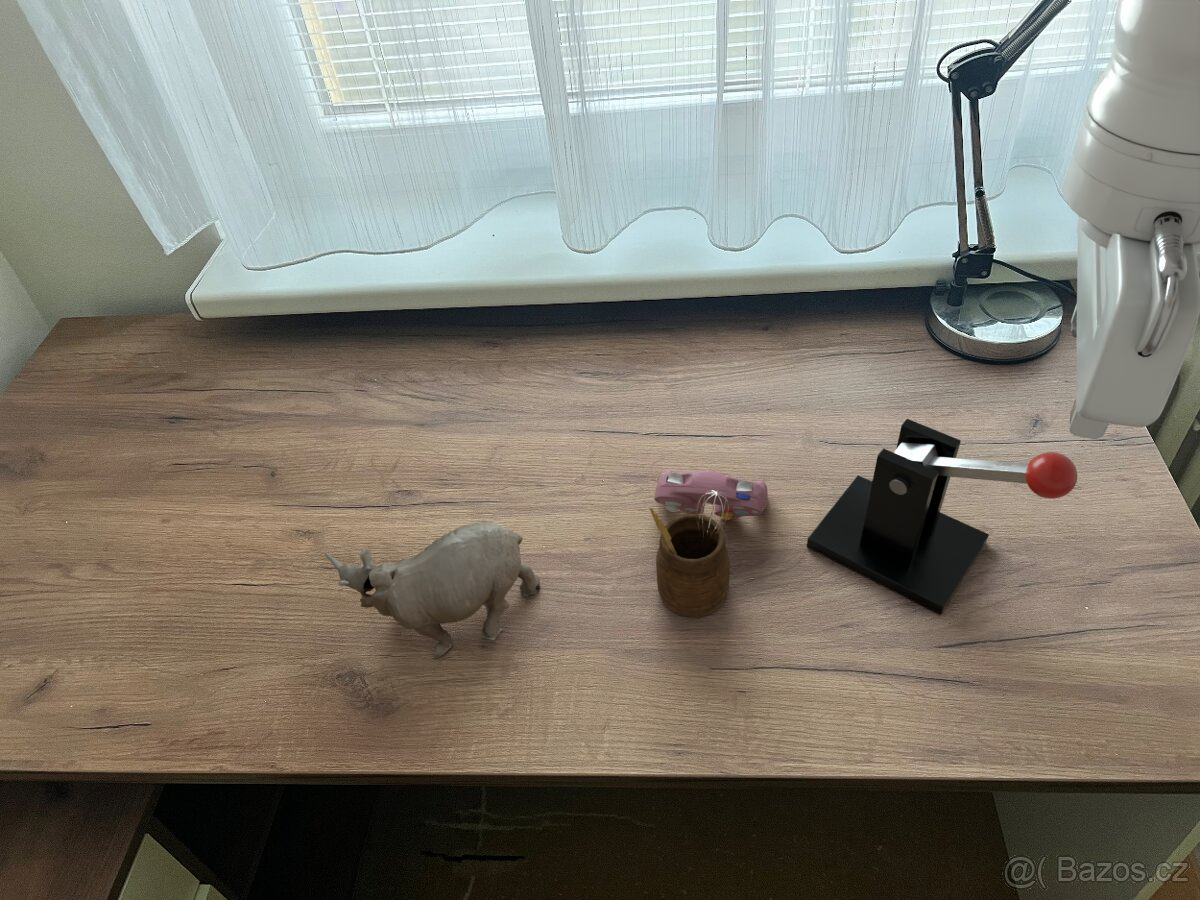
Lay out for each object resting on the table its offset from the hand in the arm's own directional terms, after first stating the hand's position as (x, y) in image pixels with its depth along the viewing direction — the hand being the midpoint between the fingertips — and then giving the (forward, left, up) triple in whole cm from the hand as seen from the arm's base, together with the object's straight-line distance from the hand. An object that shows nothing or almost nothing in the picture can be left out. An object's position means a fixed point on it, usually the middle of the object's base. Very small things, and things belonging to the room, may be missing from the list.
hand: (1084, 378), depth 54 cm
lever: (+3, -1, -12) cm, 13 cm away
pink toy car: (+24, -2, -23) cm, 34 cm away
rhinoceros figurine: (+42, +16, -23) cm, 51 cm away
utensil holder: (+23, +7, -23) cm, 34 cm away
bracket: (+8, -3, -23) cm, 25 cm away
